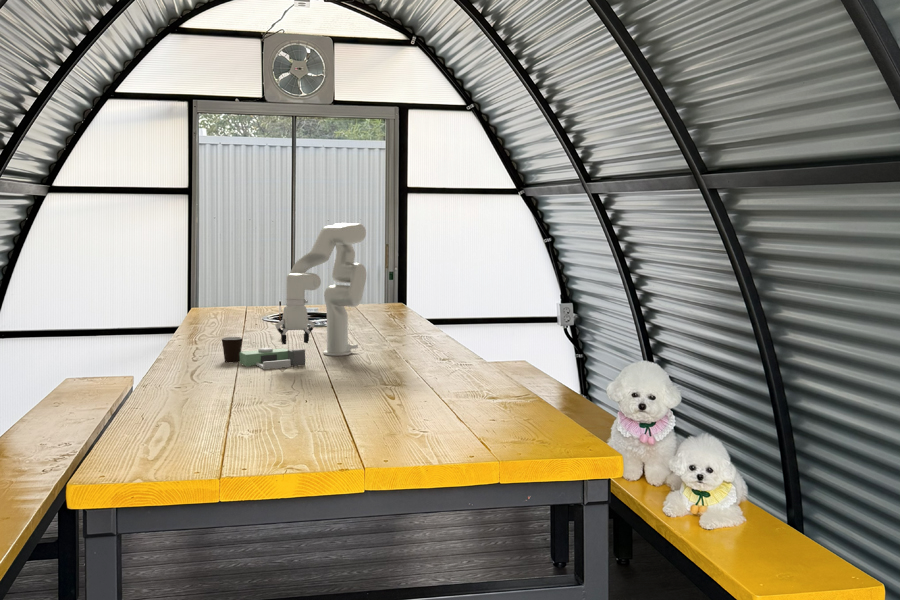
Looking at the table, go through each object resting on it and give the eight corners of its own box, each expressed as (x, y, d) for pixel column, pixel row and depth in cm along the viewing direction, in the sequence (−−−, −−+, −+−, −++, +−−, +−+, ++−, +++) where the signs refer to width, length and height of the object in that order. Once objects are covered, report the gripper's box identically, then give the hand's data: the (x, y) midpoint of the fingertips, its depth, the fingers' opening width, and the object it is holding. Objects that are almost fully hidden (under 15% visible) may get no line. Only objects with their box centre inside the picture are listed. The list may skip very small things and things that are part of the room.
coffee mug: (237, 363, 343) (236, 340, 342) (218, 362, 344) (218, 339, 343) (249, 358, 354) (248, 336, 353) (231, 357, 356) (230, 335, 355)
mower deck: (284, 359, 353) (284, 345, 352) (300, 366, 338) (300, 351, 337) (239, 363, 342) (239, 349, 342) (253, 370, 327) (253, 355, 326)
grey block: (299, 362, 345) (298, 347, 345) (305, 365, 340) (305, 349, 339) (287, 363, 343) (287, 348, 342) (294, 366, 337) (293, 350, 336)
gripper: (311, 301, 346) (310, 341, 347) (272, 302, 337) (272, 343, 338) (318, 303, 340) (317, 343, 341) (278, 304, 331) (278, 345, 332)
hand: (295, 343), depth 339 cm, fingers open, 9 cm apart
